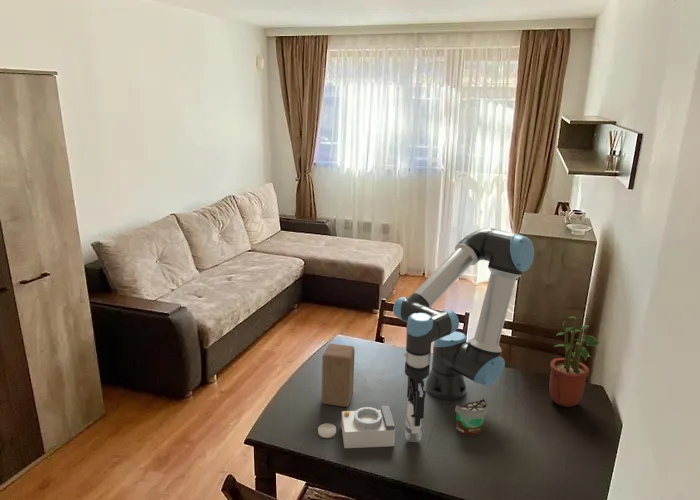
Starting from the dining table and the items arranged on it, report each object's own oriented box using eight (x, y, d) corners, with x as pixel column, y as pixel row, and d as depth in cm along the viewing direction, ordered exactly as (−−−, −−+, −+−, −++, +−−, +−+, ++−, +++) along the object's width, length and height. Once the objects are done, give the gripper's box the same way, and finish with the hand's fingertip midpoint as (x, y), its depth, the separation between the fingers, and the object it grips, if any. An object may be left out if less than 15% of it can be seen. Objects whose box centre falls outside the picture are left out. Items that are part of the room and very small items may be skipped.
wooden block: (348, 408, 178) (349, 358, 173) (321, 404, 180) (321, 354, 174) (353, 393, 188) (355, 345, 182) (327, 389, 189) (328, 342, 184)
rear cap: (335, 426, 168) (335, 423, 168) (336, 438, 163) (336, 434, 162) (317, 427, 168) (317, 423, 167) (318, 439, 162) (318, 435, 162)
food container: (464, 442, 162) (467, 415, 159) (452, 431, 167) (455, 405, 164) (493, 432, 168) (496, 406, 165) (481, 421, 173) (484, 396, 170)
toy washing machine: (388, 424, 170) (389, 404, 168) (394, 446, 159) (395, 424, 157) (341, 426, 168) (342, 406, 166) (344, 448, 158) (344, 426, 155)
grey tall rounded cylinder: (419, 431, 164) (421, 399, 160) (423, 441, 159) (425, 409, 155) (403, 432, 163) (405, 400, 160) (406, 442, 158) (408, 410, 155)
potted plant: (572, 417, 177) (588, 327, 167) (532, 397, 188) (545, 312, 178) (594, 399, 188) (610, 314, 178) (554, 382, 199) (568, 300, 189)
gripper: (399, 348, 161) (396, 410, 168) (411, 379, 144) (408, 446, 151) (422, 347, 162) (418, 409, 169) (437, 377, 145) (432, 445, 152)
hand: (413, 426), depth 160 cm, fingers closed on grey tall rounded cylinder, 5 cm apart
